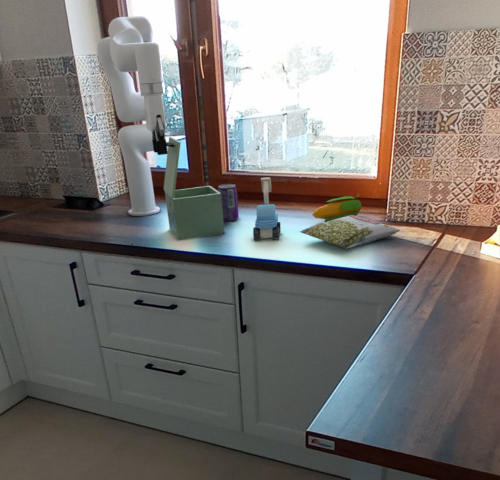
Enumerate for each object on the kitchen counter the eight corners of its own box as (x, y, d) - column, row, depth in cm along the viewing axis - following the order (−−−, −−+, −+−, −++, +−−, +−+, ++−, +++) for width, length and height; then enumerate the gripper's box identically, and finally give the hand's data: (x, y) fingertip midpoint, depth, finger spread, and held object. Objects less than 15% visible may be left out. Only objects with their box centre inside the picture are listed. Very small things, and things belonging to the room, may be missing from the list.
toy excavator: (282, 227, 203) (280, 175, 194) (279, 241, 189) (277, 186, 180) (257, 228, 204) (255, 176, 195) (253, 242, 190) (250, 187, 181)
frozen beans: (298, 222, 185) (356, 207, 196) (298, 240, 188) (355, 224, 199) (344, 237, 170) (403, 220, 182) (343, 257, 173) (401, 239, 185)
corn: (367, 194, 204) (318, 203, 197) (366, 217, 208) (319, 226, 201) (354, 192, 210) (307, 201, 203) (354, 214, 214) (308, 223, 207)
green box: (213, 224, 213) (210, 185, 206) (224, 233, 201) (221, 193, 194) (169, 230, 209) (164, 191, 202) (178, 240, 197) (173, 199, 190)
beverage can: (241, 217, 218) (239, 183, 212) (234, 222, 213) (232, 188, 206) (223, 216, 220) (221, 183, 214) (216, 221, 215) (213, 187, 208)
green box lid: (171, 137, 194) (156, 134, 192) (180, 142, 182) (164, 139, 180) (165, 190, 202) (151, 188, 200) (174, 198, 190) (159, 196, 188)
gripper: (136, 89, 185) (144, 151, 195) (145, 91, 171) (154, 158, 181) (159, 88, 187) (166, 149, 197) (170, 89, 173) (177, 155, 182)
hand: (160, 152), depth 189 cm, fingers closed on green box lid, 5 cm apart
